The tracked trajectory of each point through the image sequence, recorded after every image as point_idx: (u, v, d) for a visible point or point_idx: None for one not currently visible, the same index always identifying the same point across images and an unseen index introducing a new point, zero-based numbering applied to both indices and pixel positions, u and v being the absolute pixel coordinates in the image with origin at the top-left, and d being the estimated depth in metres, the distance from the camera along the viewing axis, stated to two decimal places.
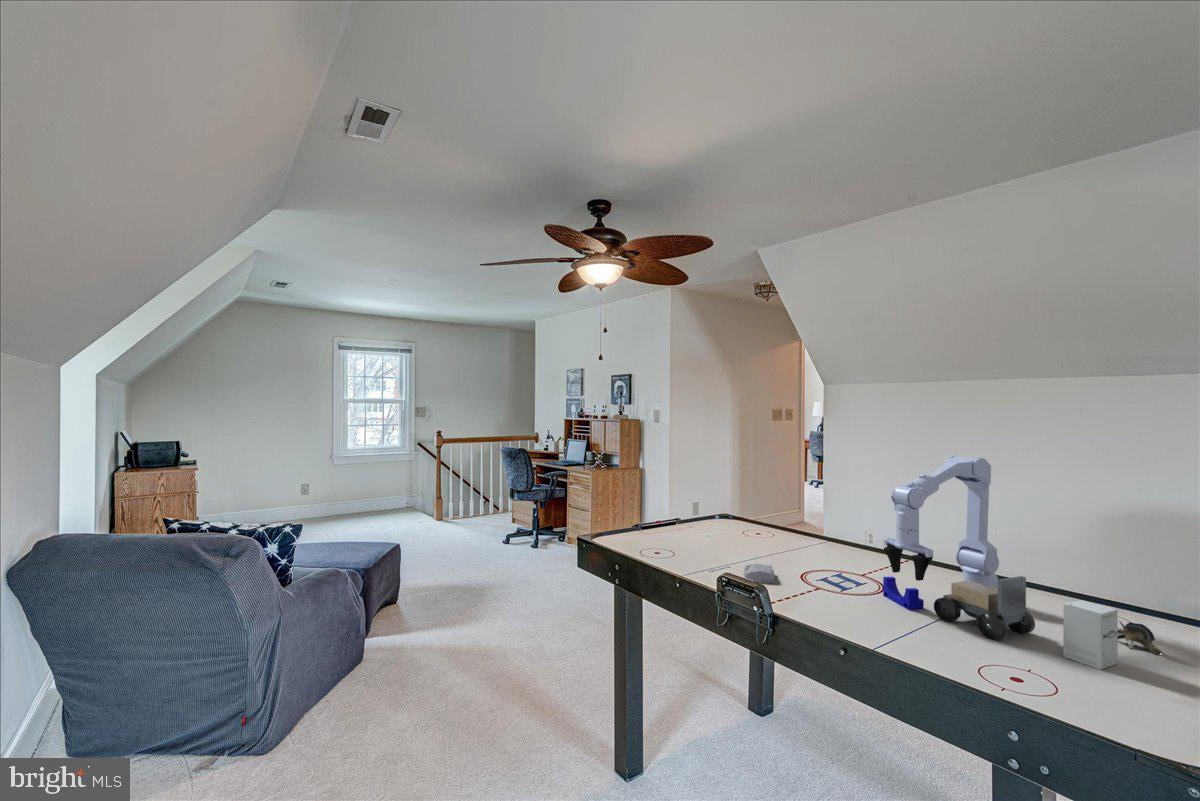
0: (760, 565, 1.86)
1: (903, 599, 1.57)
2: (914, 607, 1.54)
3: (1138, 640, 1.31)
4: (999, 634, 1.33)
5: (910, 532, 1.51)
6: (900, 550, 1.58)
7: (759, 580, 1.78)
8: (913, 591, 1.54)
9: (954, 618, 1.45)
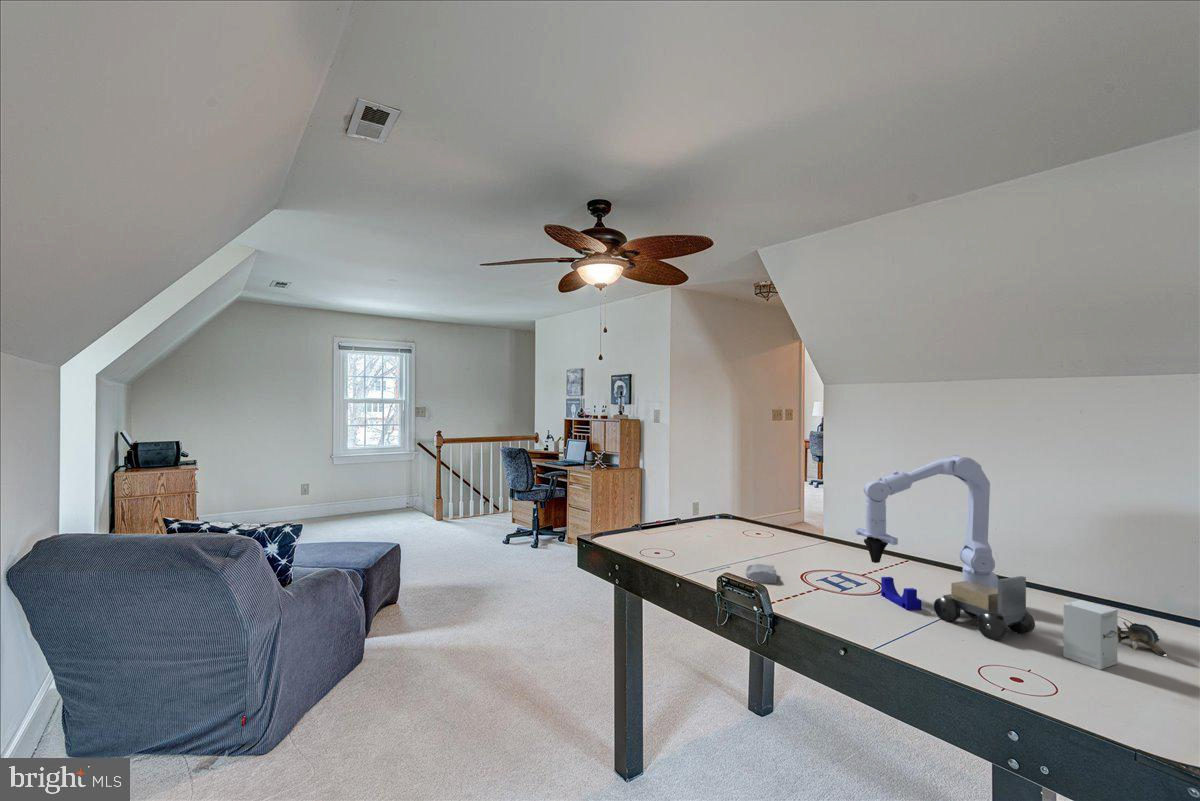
0: (762, 565, 1.86)
1: (901, 599, 1.57)
2: (912, 607, 1.54)
3: (1142, 641, 1.30)
4: (999, 634, 1.33)
5: (877, 522, 1.67)
6: None
7: (761, 580, 1.78)
8: (911, 591, 1.54)
9: (954, 618, 1.45)
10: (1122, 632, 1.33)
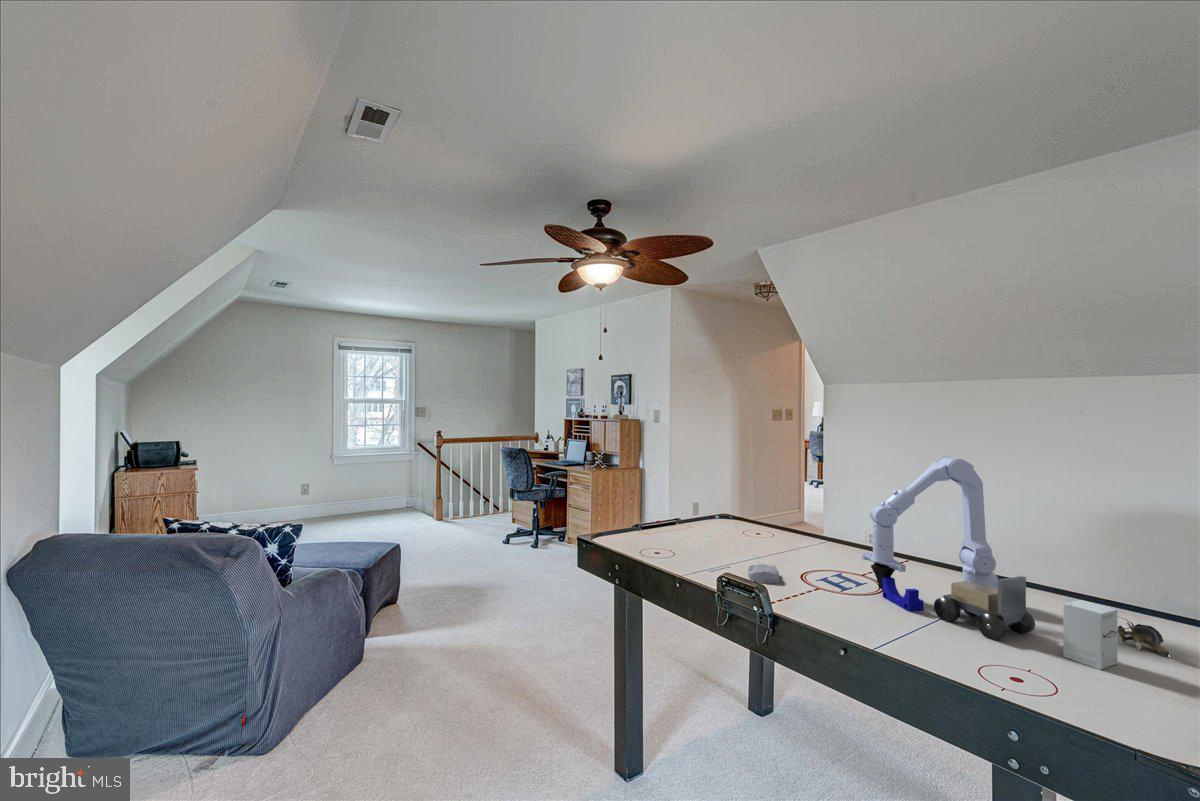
0: (764, 565, 1.86)
1: (903, 600, 1.55)
2: (914, 608, 1.53)
3: (1146, 642, 1.30)
4: (999, 634, 1.33)
5: (885, 548, 1.65)
6: None
7: (764, 580, 1.77)
8: (913, 592, 1.53)
9: (954, 618, 1.45)
10: (1126, 633, 1.33)
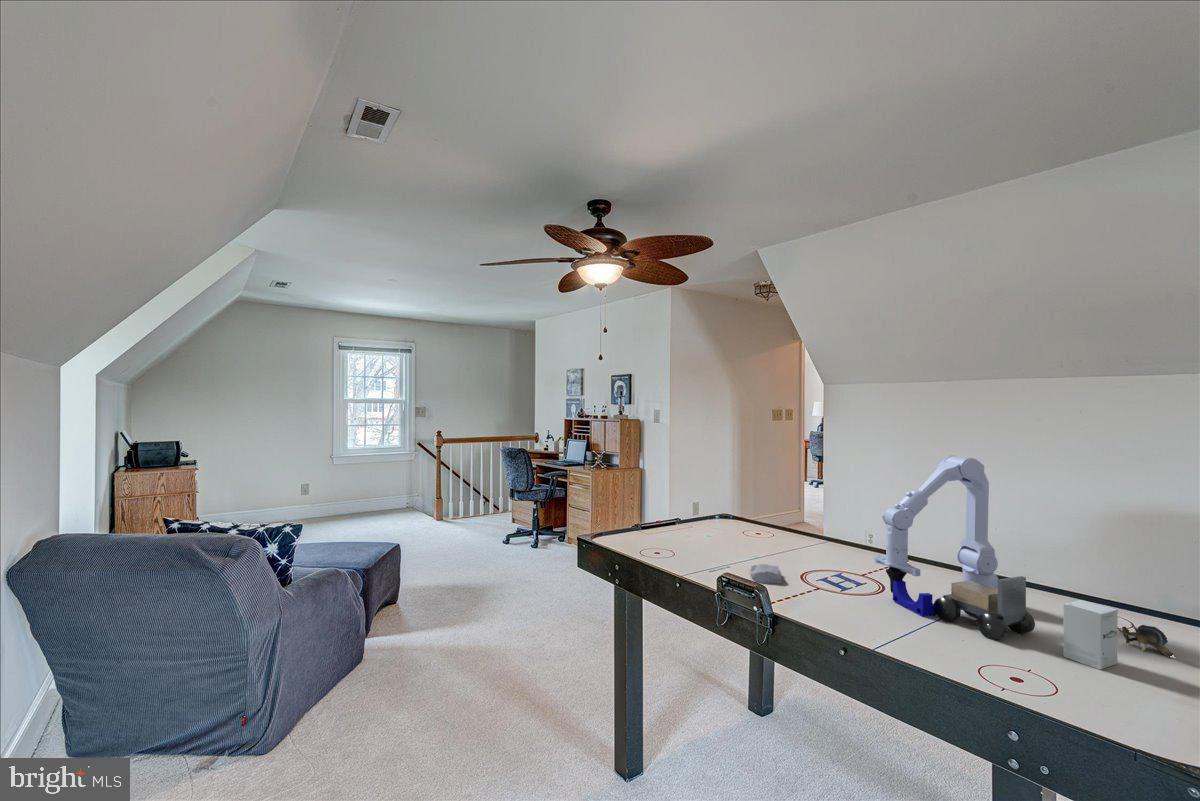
0: (766, 565, 1.86)
1: (916, 604, 1.52)
2: (927, 613, 1.50)
3: (1150, 643, 1.29)
4: (999, 634, 1.33)
5: (899, 551, 1.60)
6: None
7: (766, 580, 1.77)
8: (927, 596, 1.50)
9: (954, 618, 1.45)
10: (1130, 634, 1.32)
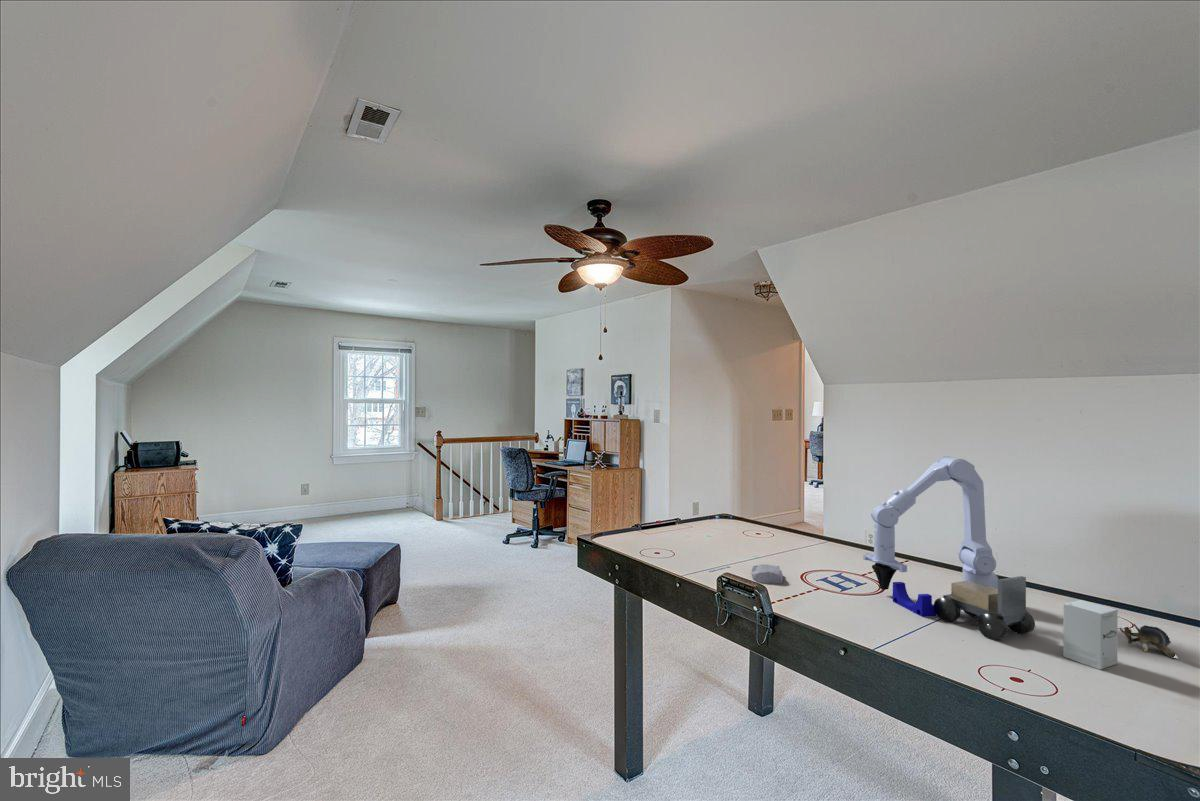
0: (767, 565, 1.86)
1: (915, 605, 1.52)
2: (927, 614, 1.50)
3: (1153, 643, 1.29)
4: (999, 634, 1.33)
5: (886, 548, 1.64)
6: None
7: (767, 581, 1.77)
8: (926, 597, 1.50)
9: (954, 618, 1.45)
10: (1132, 634, 1.32)
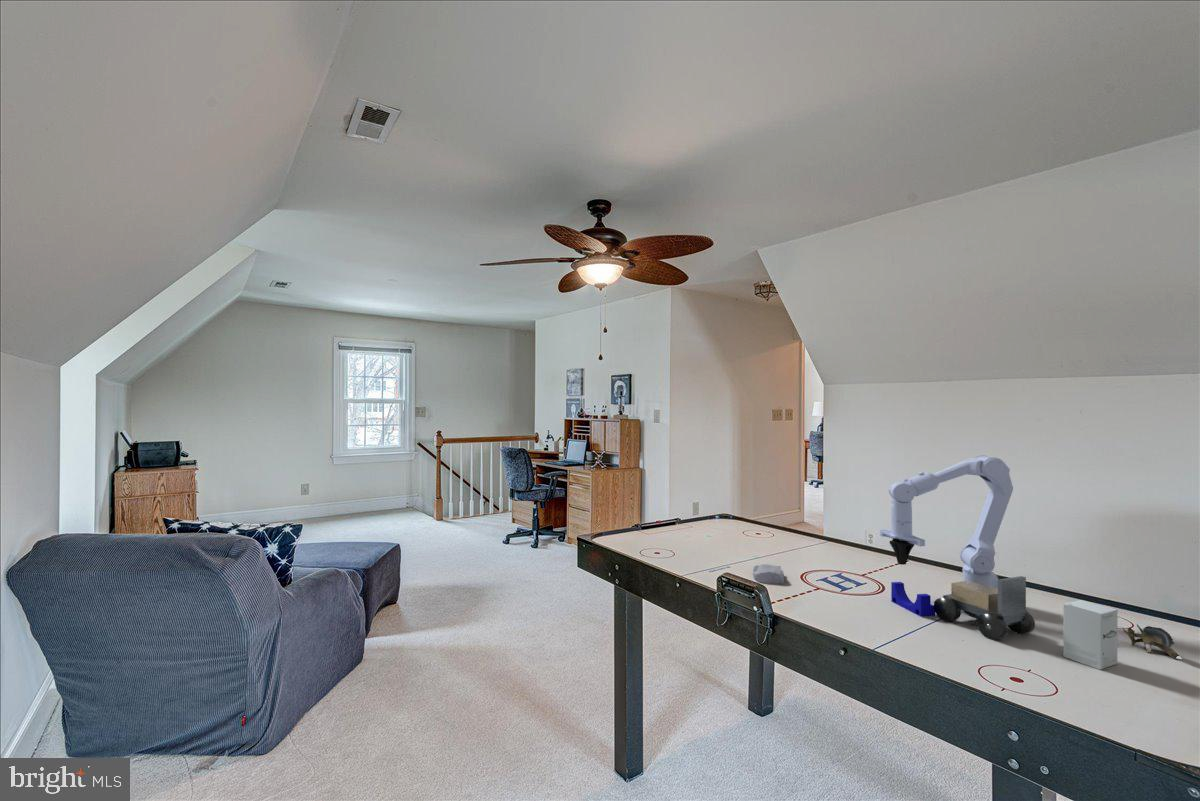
0: (769, 566, 1.86)
1: (914, 605, 1.52)
2: (926, 614, 1.50)
3: (1156, 644, 1.28)
4: (999, 634, 1.33)
5: (904, 523, 1.66)
6: None
7: (769, 581, 1.77)
8: (925, 597, 1.50)
9: (954, 618, 1.45)
10: (1135, 635, 1.31)
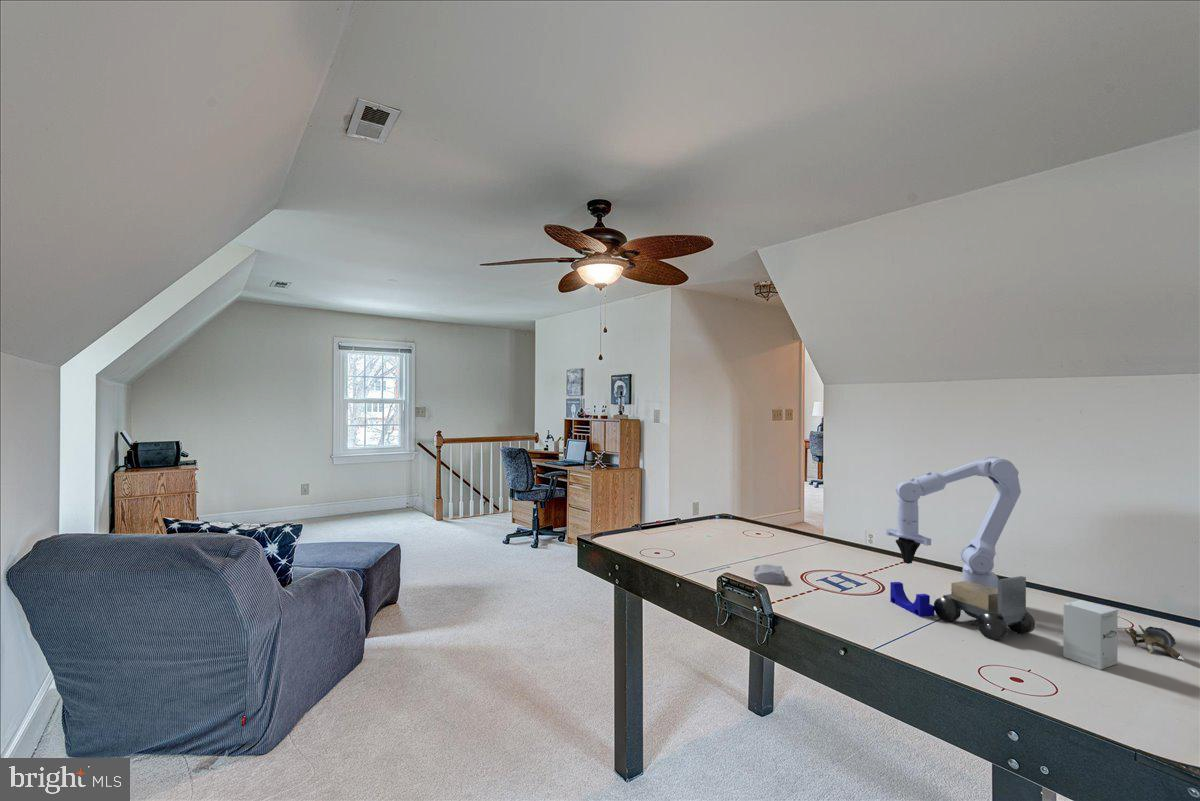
0: (769, 566, 1.86)
1: (913, 605, 1.52)
2: (925, 614, 1.50)
3: (1158, 645, 1.28)
4: (999, 634, 1.33)
5: (910, 522, 1.67)
6: None
7: (770, 581, 1.77)
8: (924, 597, 1.50)
9: (954, 618, 1.45)
10: (1137, 635, 1.31)
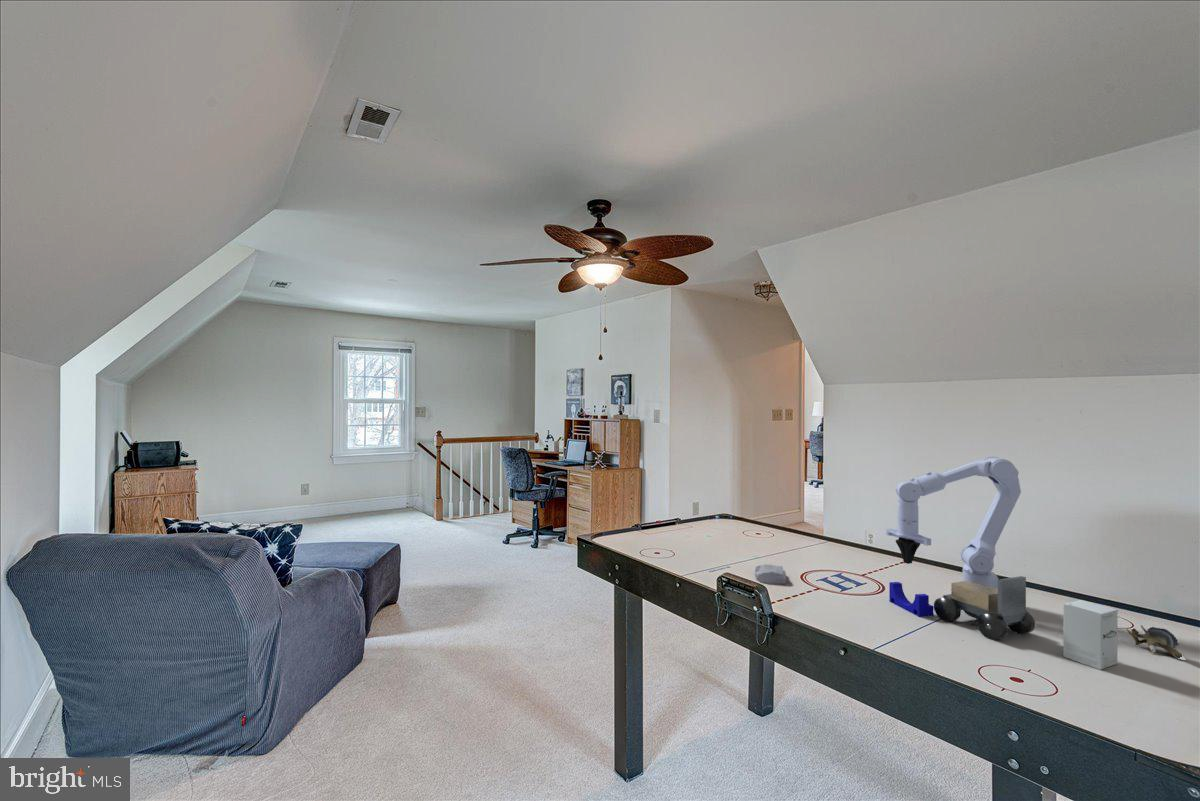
0: (770, 566, 1.86)
1: (912, 605, 1.52)
2: (924, 614, 1.50)
3: (1161, 645, 1.28)
4: (999, 634, 1.33)
5: (910, 522, 1.67)
6: None
7: (771, 581, 1.77)
8: (923, 597, 1.50)
9: (954, 618, 1.45)
10: (1140, 636, 1.31)
